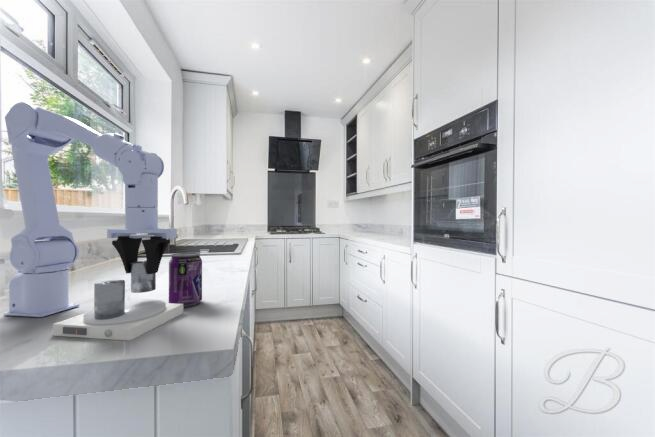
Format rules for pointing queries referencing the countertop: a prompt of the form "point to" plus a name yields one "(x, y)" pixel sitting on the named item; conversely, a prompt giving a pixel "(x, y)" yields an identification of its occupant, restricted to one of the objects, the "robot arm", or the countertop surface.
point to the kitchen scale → (120, 321)
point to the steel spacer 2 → (141, 278)
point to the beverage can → (185, 279)
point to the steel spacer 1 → (109, 299)
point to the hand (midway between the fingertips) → (142, 272)
